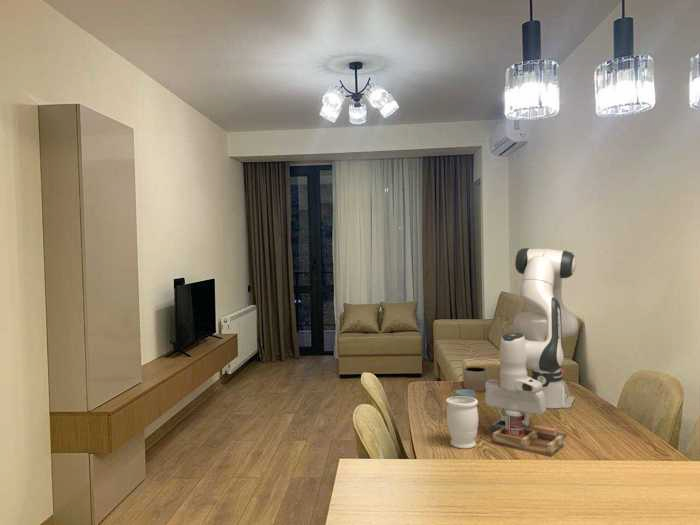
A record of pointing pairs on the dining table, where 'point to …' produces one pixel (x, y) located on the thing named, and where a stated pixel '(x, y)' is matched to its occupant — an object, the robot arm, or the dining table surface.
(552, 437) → the grey metal lipped plate
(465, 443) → the jar
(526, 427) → the socket collar
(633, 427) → the dining table surface
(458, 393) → the cup
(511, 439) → the rack
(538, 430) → the pink rectangular block
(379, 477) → the dining table surface
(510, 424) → the pill bottle
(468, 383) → the planter
